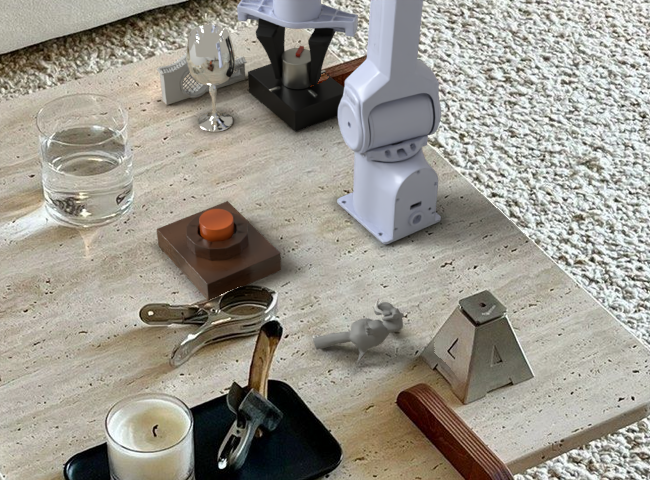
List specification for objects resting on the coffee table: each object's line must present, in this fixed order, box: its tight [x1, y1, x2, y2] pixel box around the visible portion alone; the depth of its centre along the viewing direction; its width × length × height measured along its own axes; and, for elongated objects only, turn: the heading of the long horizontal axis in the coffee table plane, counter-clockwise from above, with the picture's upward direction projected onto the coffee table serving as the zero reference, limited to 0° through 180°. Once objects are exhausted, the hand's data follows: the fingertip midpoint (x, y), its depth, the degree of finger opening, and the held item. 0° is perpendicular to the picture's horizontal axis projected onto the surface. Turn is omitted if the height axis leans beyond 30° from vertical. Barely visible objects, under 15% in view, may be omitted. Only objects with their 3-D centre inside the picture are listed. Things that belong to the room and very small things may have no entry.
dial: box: [281, 45, 312, 89], centre depth 147 cm, size 4×4×4 cm
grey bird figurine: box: [312, 298, 405, 366], centre depth 116 cm, size 10×6×9 cm
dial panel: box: [247, 63, 345, 133], centre depth 149 cm, size 11×8×3 cm
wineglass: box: [186, 24, 236, 133], centre depth 143 cm, size 6×6×12 cm
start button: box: [199, 209, 234, 242], centre depth 126 cm, size 4×4×2 cm
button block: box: [156, 200, 282, 301], centre depth 127 cm, size 11×9×4 cm
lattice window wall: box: [156, 51, 248, 106], centre depth 150 cm, size 12×2×6 cm, turn 122°
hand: (298, 77), depth 148 cm, fingers closed on dial, 4 cm apart
